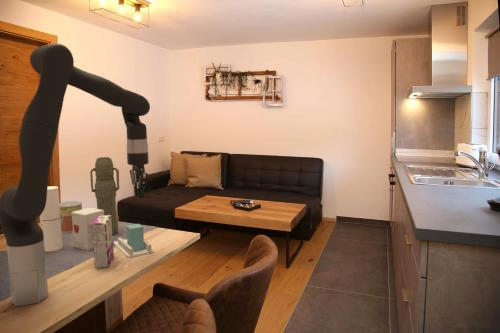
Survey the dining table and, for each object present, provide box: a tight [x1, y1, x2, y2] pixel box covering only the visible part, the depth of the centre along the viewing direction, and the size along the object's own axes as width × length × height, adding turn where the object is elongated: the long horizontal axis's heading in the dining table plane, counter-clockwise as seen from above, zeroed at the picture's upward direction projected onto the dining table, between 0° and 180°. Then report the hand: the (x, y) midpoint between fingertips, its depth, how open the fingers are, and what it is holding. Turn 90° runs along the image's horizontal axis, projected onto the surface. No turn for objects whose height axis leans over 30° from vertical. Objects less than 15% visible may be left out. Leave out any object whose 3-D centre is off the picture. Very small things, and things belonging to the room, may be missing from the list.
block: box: [126, 223, 145, 251], centre depth 146 cm, size 5×5×9 cm
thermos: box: [89, 156, 120, 237], centre depth 165 cm, size 9×12×35 cm
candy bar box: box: [92, 215, 115, 269], centre depth 134 cm, size 11×5×16 cm, turn 12°
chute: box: [113, 237, 155, 259], centre depth 149 cm, size 20×10×3 cm, turn 36°
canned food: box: [59, 200, 83, 233], centre depth 175 cm, size 11×11×12 cm
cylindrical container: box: [39, 185, 63, 253], centre depth 148 cm, size 7×7×25 cm
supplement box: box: [72, 207, 104, 251], centre depth 151 cm, size 9×9×15 cm
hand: (139, 197), depth 138 cm, fingers open, 2 cm apart
